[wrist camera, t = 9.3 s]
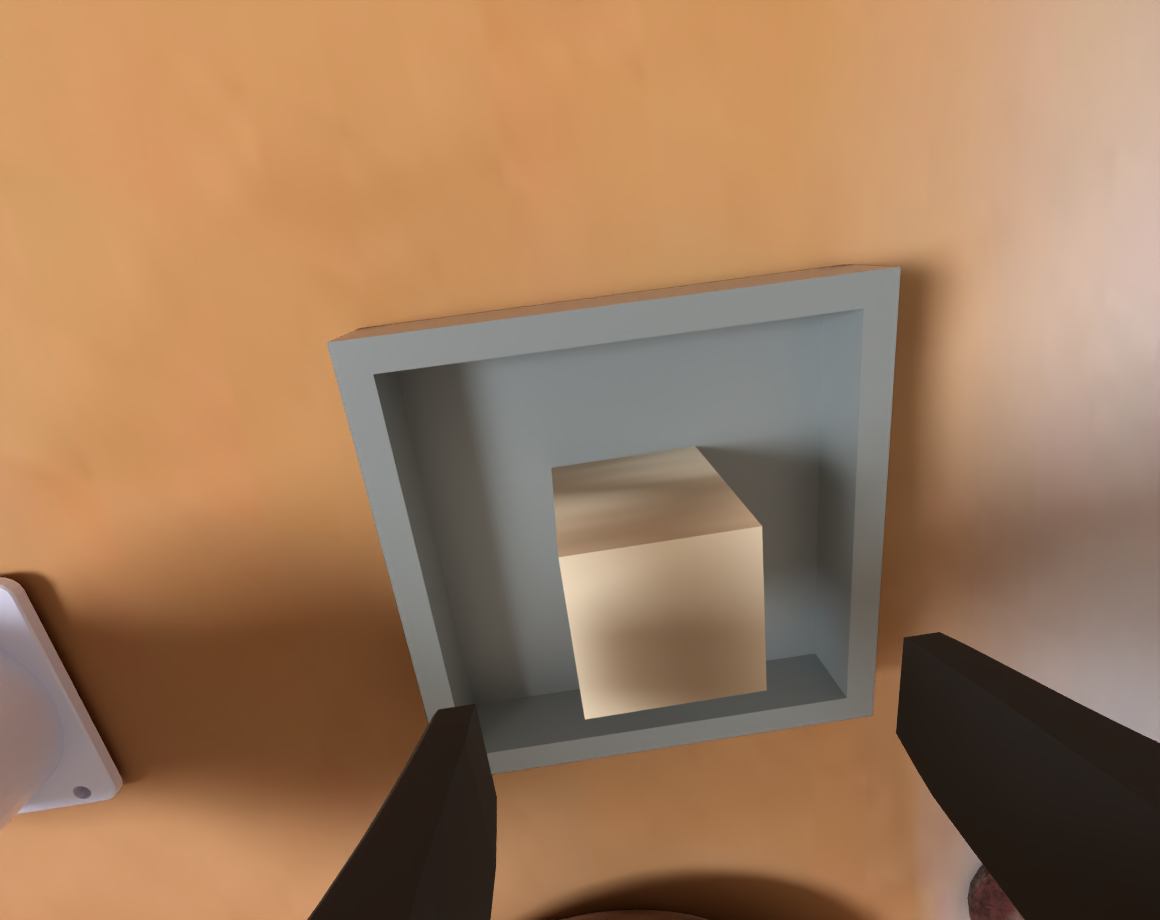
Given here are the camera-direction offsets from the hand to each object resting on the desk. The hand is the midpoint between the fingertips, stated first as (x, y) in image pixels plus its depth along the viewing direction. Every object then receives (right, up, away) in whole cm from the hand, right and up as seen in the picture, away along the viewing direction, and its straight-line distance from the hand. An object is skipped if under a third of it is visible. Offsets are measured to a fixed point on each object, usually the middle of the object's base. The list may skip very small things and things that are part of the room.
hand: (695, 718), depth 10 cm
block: (0, +3, +7) cm, 7 cm away
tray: (0, +3, +7) cm, 8 cm away
